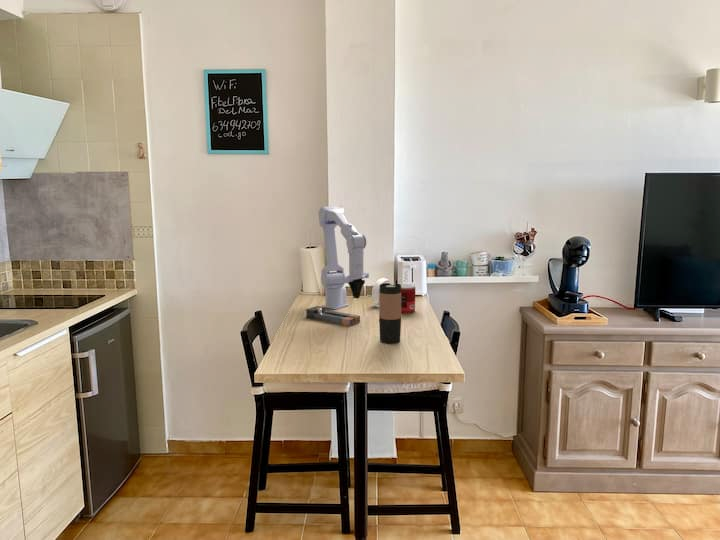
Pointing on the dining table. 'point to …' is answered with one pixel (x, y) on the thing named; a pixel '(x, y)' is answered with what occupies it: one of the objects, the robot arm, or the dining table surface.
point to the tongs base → (328, 316)
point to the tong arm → (345, 315)
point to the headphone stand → (377, 290)
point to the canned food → (407, 298)
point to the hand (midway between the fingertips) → (356, 297)
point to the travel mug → (390, 313)
